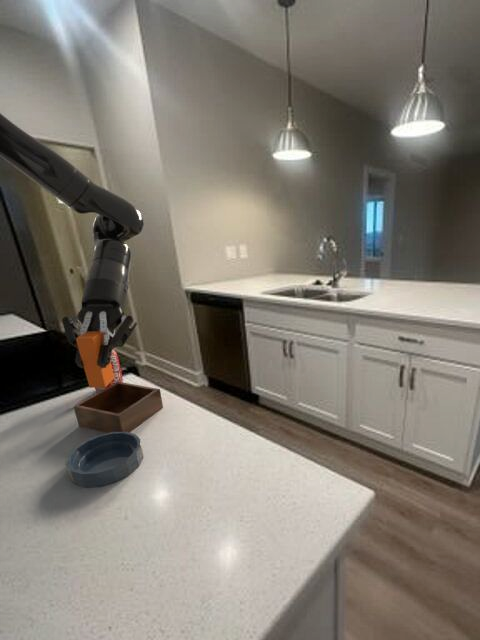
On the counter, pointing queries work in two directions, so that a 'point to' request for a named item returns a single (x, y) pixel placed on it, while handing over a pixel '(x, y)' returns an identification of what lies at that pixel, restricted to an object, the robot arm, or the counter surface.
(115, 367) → the soda can
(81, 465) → the bowl
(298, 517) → the counter surface
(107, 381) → the block
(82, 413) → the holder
